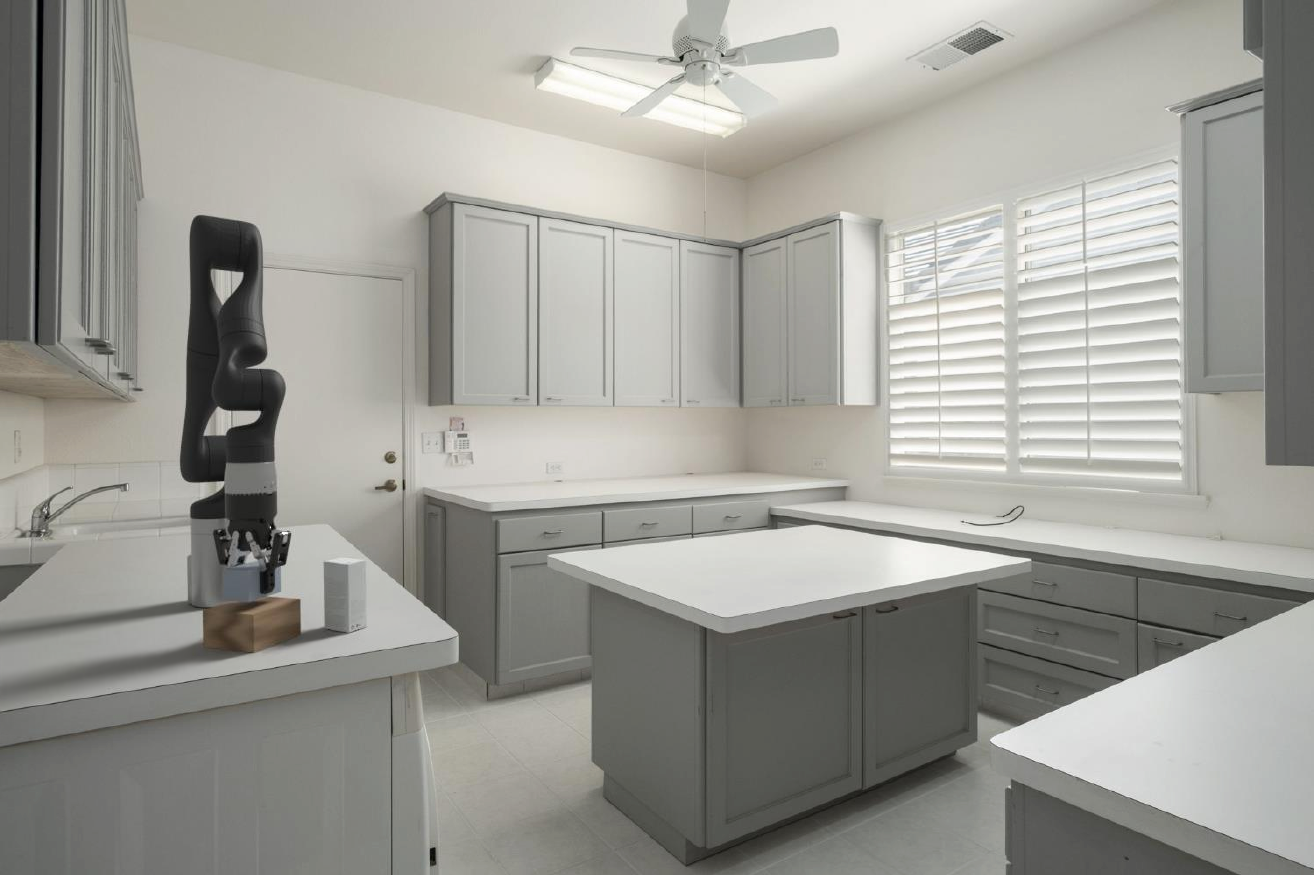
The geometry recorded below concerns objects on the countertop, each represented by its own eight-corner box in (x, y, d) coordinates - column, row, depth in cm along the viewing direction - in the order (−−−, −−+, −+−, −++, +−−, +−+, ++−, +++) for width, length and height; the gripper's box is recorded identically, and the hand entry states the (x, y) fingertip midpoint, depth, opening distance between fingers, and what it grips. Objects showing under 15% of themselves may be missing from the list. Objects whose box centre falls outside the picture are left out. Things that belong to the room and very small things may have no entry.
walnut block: (203, 647, 117) (202, 610, 117) (253, 629, 126) (252, 595, 126) (254, 652, 114) (253, 614, 114) (300, 633, 124) (300, 599, 124)
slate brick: (222, 600, 117) (222, 569, 117) (256, 589, 124) (255, 560, 124) (248, 601, 116) (248, 570, 116) (281, 591, 123) (280, 562, 123)
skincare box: (367, 627, 128) (367, 559, 128) (348, 633, 124) (347, 564, 124) (343, 622, 131) (342, 556, 130) (323, 629, 127) (322, 561, 126)
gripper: (196, 490, 118) (198, 594, 118) (269, 493, 114) (271, 600, 115) (234, 486, 125) (236, 584, 126) (304, 488, 121) (305, 589, 122)
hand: (252, 591), depth 120 cm, fingers closed on slate brick, 5 cm apart
